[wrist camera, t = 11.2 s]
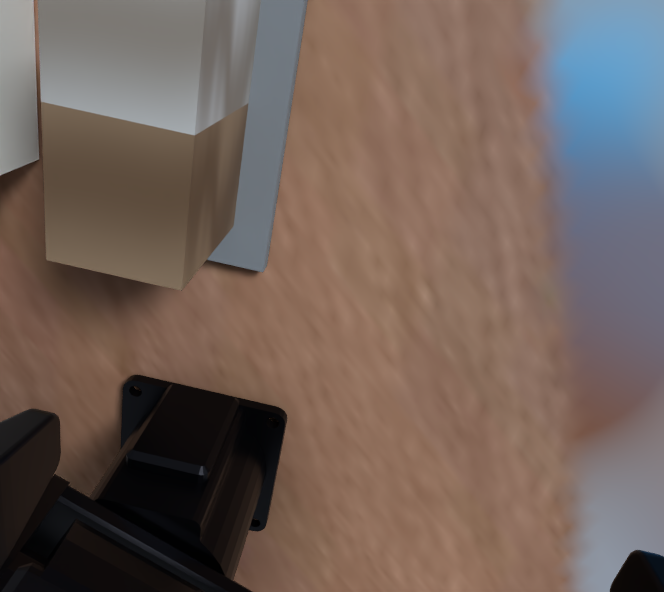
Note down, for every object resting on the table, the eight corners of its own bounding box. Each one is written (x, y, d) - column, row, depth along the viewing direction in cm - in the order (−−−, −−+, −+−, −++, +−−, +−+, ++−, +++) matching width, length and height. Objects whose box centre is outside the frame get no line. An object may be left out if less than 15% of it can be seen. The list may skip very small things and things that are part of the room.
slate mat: (266, 265, 21) (263, 272, 20) (101, 228, 21) (93, 233, 21) (317, -61, 16) (313, -63, 16) (105, -106, 17) (95, -110, 16)
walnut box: (233, 226, 20) (181, 290, 15) (128, 202, 20) (46, 260, 15) (262, -15, 17) (208, -23, 12) (136, -43, 17) (35, -59, 12)
